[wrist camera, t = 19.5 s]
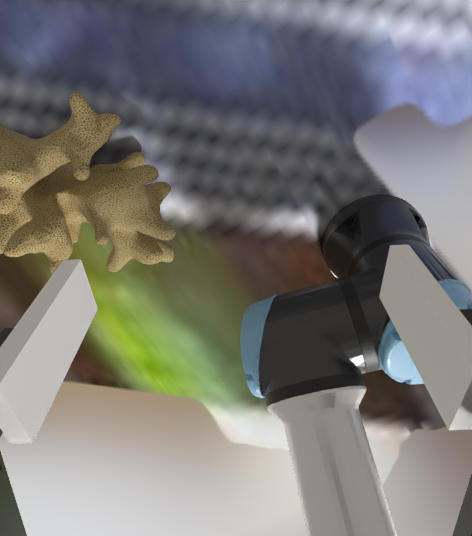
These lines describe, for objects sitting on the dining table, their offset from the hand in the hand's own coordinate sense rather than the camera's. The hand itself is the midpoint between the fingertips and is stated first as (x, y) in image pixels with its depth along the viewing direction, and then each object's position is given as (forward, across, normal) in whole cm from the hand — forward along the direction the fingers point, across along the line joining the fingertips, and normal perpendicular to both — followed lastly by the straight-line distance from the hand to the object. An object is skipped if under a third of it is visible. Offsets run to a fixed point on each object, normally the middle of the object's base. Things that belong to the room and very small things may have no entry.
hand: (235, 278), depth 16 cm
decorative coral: (+37, +19, +8) cm, 42 cm away
